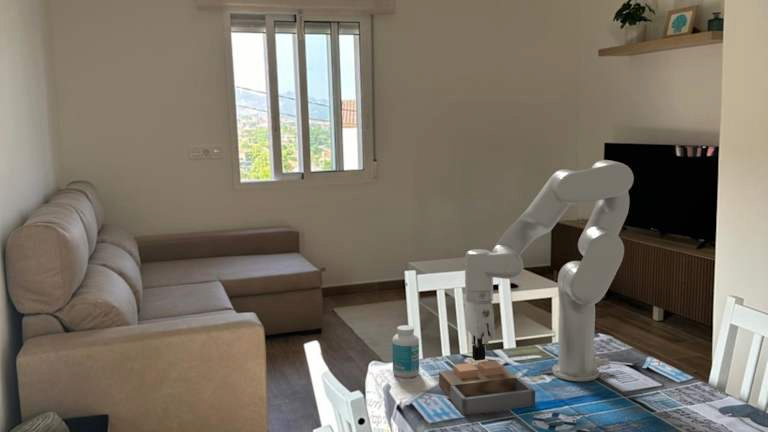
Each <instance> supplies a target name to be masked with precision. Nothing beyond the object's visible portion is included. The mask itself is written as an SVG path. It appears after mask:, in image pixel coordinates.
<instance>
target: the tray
mask: <svg viewBox="0 0 768 432" xmlns="http://www.w3.org/2000/svg"><path fill="white" fill-rule="evenodd" d="M449 400H450V402H451V403H452V404H453V406H454V407H455V408H456V409H457V410H458V412H459V413H461V415H462V416H469V415H470V416H471V415H477V414H485V413H492V412H501V411H507V410H514V409H516V410H517V409H522V408H523V409H524V408H529V407H535V406H536V390H535V389H534V388H533V387H532V386H531V385H529V384H528V383H527V382H525V381H524V380H523V379H522V378H521V377H517V378H516V390H515V391H507V392H500V393H492V394H484V395H476V396H468V397H465V396H464V395H463V394H462V393H461V392H460V391H459V390H458V389H457V388H456V387H455V386H450V398H449Z"/></svg>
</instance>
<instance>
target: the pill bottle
mask: <svg viewBox="0 0 768 432" xmlns="http://www.w3.org/2000/svg"><path fill="white" fill-rule="evenodd" d="M396 332H397V333H396V334H395V335H394V336H393V337H392V373H393V375H394V376H396V377H398V378H404V379H407V378H408V379H409V378H413V377H416V376H418V375H419V373H420V341H419V340H420V338H419V337H418V335H416V334H415V333H414V332H415V327H414V326H412V325H405V324H404V325H399V326H397V328H396Z"/></svg>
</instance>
